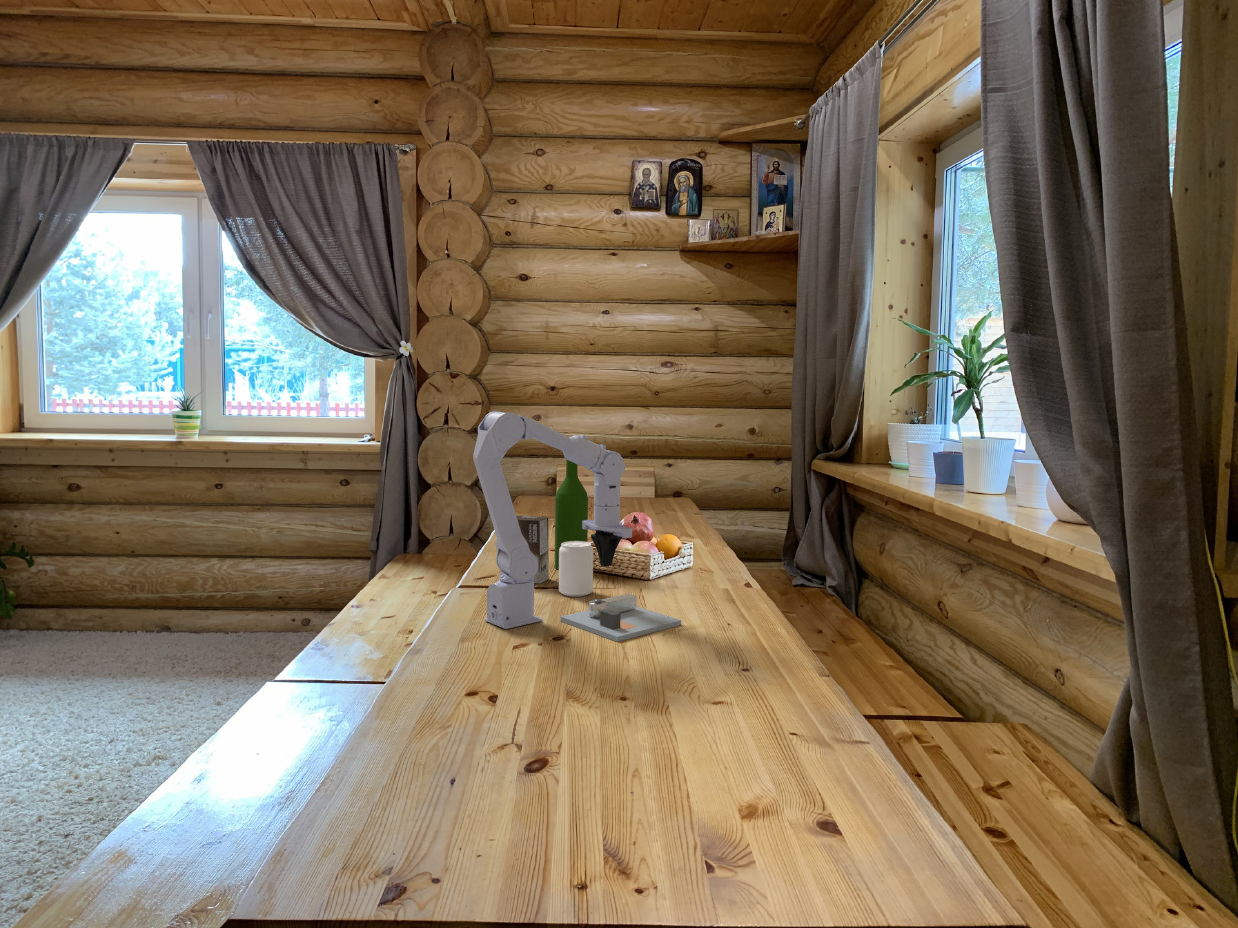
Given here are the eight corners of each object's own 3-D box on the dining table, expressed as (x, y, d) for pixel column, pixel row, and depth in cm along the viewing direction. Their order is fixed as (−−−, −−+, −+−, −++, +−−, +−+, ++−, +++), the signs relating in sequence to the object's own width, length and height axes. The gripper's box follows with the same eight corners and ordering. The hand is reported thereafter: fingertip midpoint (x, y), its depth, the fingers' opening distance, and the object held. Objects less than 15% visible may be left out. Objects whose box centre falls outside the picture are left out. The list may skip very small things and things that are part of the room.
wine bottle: (593, 566, 223) (595, 448, 220) (574, 573, 215) (576, 450, 212) (567, 562, 228) (568, 447, 224) (547, 568, 220) (548, 449, 217)
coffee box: (549, 578, 209) (550, 516, 207) (540, 584, 203) (540, 520, 201) (517, 575, 212) (517, 514, 210) (506, 581, 205) (506, 518, 204)
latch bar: (596, 618, 169) (596, 603, 169) (585, 614, 172) (585, 599, 171) (637, 608, 177) (638, 594, 177) (626, 605, 180) (627, 590, 179)
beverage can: (591, 597, 190) (592, 547, 189) (557, 597, 191) (557, 546, 189) (593, 589, 198) (594, 540, 197) (560, 588, 199) (560, 540, 197)
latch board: (617, 641, 158) (617, 621, 158) (560, 620, 171) (560, 602, 171) (681, 624, 170) (681, 606, 170) (623, 606, 183) (623, 589, 183)
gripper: (642, 507, 175) (641, 568, 177) (599, 499, 186) (598, 557, 187) (618, 510, 171) (617, 573, 172) (575, 502, 181) (574, 561, 183)
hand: (606, 565), depth 179 cm, fingers closed
